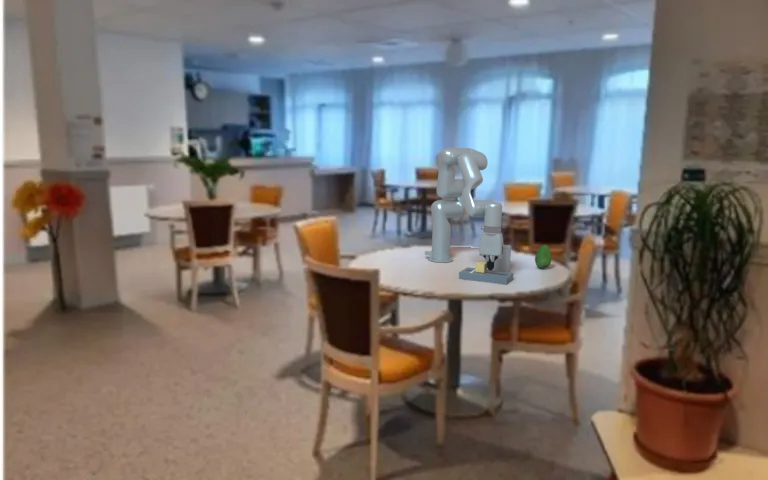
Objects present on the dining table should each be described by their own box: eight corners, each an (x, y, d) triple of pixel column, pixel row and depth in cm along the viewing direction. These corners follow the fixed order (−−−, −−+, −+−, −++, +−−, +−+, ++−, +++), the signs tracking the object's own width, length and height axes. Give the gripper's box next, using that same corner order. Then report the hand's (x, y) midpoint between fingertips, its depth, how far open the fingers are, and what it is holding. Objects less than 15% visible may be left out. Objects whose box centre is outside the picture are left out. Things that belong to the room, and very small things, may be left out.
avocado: (554, 269, 287) (555, 245, 285) (542, 271, 284) (543, 246, 282) (542, 266, 294) (543, 243, 292) (530, 267, 291) (532, 244, 288)
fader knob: (475, 271, 264) (475, 263, 264) (478, 269, 269) (479, 261, 268) (483, 272, 263) (484, 264, 262) (487, 270, 267) (487, 262, 266)
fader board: (458, 278, 265) (459, 272, 264) (467, 273, 275) (467, 267, 275) (506, 284, 255) (506, 277, 254) (513, 279, 266) (513, 272, 265)
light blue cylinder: (510, 269, 287) (512, 245, 285) (508, 272, 279) (509, 248, 277) (494, 267, 289) (495, 243, 287) (491, 271, 282) (492, 246, 280)
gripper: (473, 229, 260) (471, 269, 264) (506, 232, 254) (504, 273, 257) (478, 227, 267) (476, 266, 270) (511, 230, 261) (508, 270, 264)
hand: (490, 269), depth 264 cm, fingers closed
